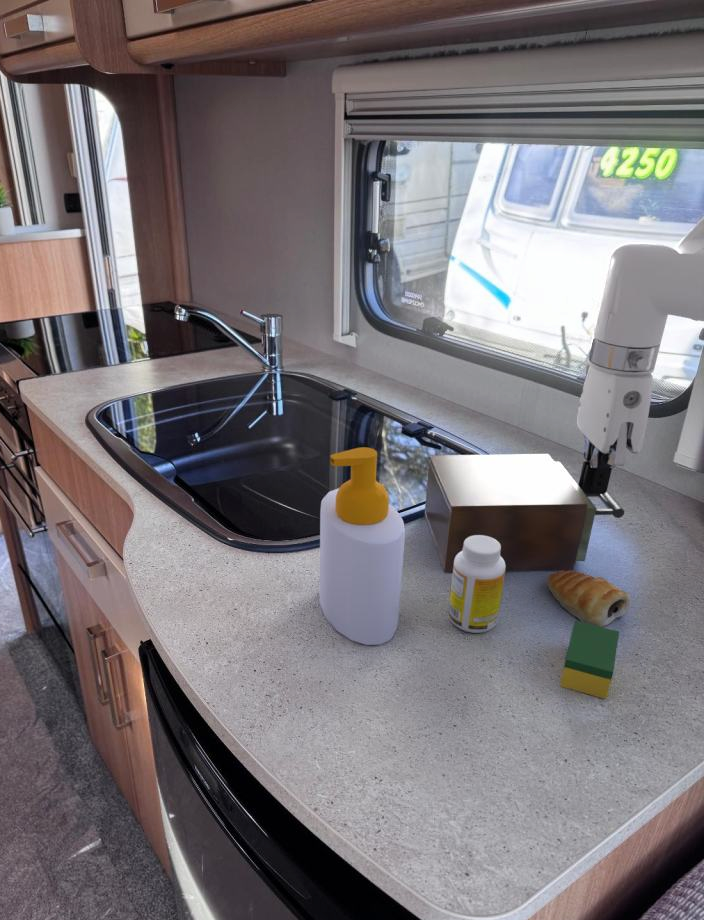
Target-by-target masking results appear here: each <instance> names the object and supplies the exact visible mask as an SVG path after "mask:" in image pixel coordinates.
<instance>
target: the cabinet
mask: <svg viewBox="0 0 704 920" xmlns="http://www.w3.org/2000/svg"><path fill="white" fill-rule="evenodd" d="M428 459H429V461H428V472H427V481H426V482H427V483H426V485H427V486H426V493H425V494H426V495H425V505H424V516H423V517H424V519H425V521H426V525H427V527H428V530H429V533H430V536H431V539H432V542H433V545H434V547H435V550H436V553H437V556H438V559H439V561H440V565H441V567H442V570H443V573H444V574H448V573H449V574H451V573H452V574H453V566H454V559H455V557H456V555H457V554H458V553H459V552H461V551H462V549H463V545H464V541H465V539H466V538H468V537H470V536H474V535H484V536H488V537H491V538H494V539H495V540H497V541H498V542H499V543H500V545H501V550H500V556H501V557H502V558H503V560H504V562H505V566H506V567H505V573H506V572H547V571H548V572H549V571H556V572H558V571H564V570H569V571H574V569H575V565H576V562H575V560H576V555H577V551H578V546H579V541H580V537H581V532H582V527H583V523H584V518H585V513H586V509H587V503H586V502H585V500H584V499H583V498H582V496H581V495H580V494H579V493H578V491H577V490H576V489H575V487H574V486H573V485H572V484H571V482H570V481H569V480H568V478H567V477H566V476H565V474H564V473H563V472H562V471H561V469H560V468H559V467H558V465H557V464H556V463H555V462H556V461H555V460H554V459H553V458H552V456H551V455H550V454H549V453H520V454H519V453H518V454H516V453H514V454H508V453H507V454H435V455H433V454H432V455H429V458H428Z"/></svg>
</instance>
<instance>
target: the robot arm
mask: <svg viewBox="0 0 704 920" xmlns="http://www.w3.org/2000/svg"><path fill="white" fill-rule="evenodd" d="M668 316H675V317H679V318H685V319H689V320H694V321H698V322H704V216H703V217H701V219H700V220H699V221H698V222H697V223H696V224H695V225H694V226H693V227H692V228H691V229H690V230H689V231H688V232H687V233H686V234H685V235H684V236H683V238H682V239H680V240H679V242H678V243H677V244H676V245H675V247H672V246H668V245H664V244H658V243H650V242H627V243H623V244H619V245H617V246H615V247H614V249H613V250H612V251H611V252H610V254H609V257H608V261H607V265H606V271H605V274H604V280H603V286H602V290H601V295H600V300H599V305H598V310H597V315H596V320H595V323H594V324H595V325H594V329H593V335H592V339H591V343H590V348H589V353H588V358H587V365H588V370H587V373H586V375H585V379H584V383H583V387H582V390H581V394H580V398H579V403H578V409H577V415H576V425H577V428H578V430H579V431H580V432H581V433H582V436H583V438H584V447H583V454H582V455H583V460H584V461H583V462H582V466H581V472H580V476H579V481H578V485H579V487H580V488H581V489H582V491H583V492H584V493H585V494H605V493H606V492H607V491H608V487H609V483H610V479H611V474H612V470H613V469H614V468H616V467H624V466H625V461H626V452H627V450H628V451H629V452H630V453H632V454H634V455H635V454H638V453H640V452H641V450H642V448H643V447H642V446H643V443H644V439H645V434H646V431H647V430H646V429H647V425H648V419H649V414H650V407H651V401H652V393H653V378H654V377H653V375H652V374H653V373H654V371H655V367H656V363H657V359H658V355H659V352H660V348H661V344H662V340H663V335H664V332H665V327H666V324H667V321H668Z"/></svg>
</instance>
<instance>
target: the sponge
mask: <svg viewBox="0 0 704 920" xmlns="http://www.w3.org/2000/svg"><path fill="white" fill-rule="evenodd" d="M619 636H620V631H619V630H615V629H611V628H607V627H605V626H604V627H600V626H596V625H592V624H588V623H584V622H582V621H580V620H574V623H573V626H572V630H571V635H570V640H569V642H568V643H569V644H568V648H567V652H566V656H565V661H564V665H563V669H562V673H561V679H560V683H559V686H560V687H562V688H565V689H569V690H573V691H576V692H580V693H582V694H583V693H584V694H587V695H590V696H594V697H597V698H601V699H604V700H606V699H607V698H608V695H609V690H610V686H611V682H612V679H613V676H614V672H615V666H616V665H615V664H616V656H617V651H618V643H619Z"/></svg>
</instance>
